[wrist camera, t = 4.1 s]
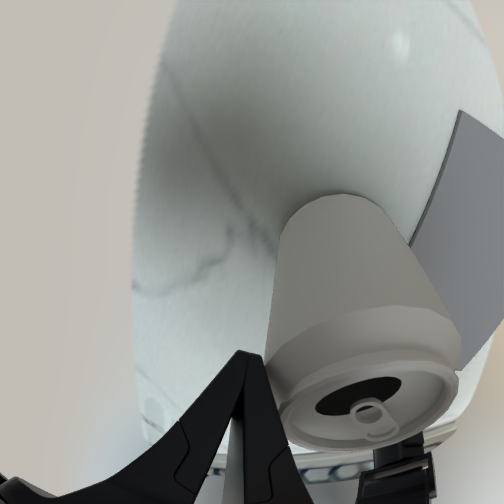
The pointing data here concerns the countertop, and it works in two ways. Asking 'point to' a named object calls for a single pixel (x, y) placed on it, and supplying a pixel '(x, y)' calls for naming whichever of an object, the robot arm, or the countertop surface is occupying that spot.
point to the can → (355, 331)
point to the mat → (467, 234)
